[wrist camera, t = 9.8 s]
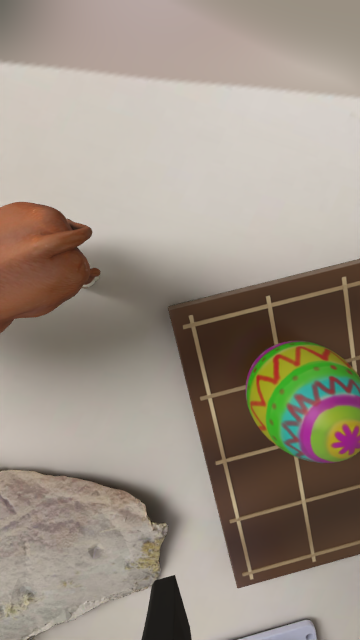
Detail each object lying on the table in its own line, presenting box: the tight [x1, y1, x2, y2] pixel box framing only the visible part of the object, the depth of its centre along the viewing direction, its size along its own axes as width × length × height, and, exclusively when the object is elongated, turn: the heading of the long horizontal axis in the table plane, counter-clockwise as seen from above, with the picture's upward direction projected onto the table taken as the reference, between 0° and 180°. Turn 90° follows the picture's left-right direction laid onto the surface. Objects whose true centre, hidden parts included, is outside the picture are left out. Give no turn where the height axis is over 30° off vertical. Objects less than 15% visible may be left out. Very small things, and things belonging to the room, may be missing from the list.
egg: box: [246, 341, 360, 463], centre depth 14 cm, size 5×5×6 cm
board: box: [168, 259, 360, 588], centre depth 19 cm, size 18×18×1 cm
